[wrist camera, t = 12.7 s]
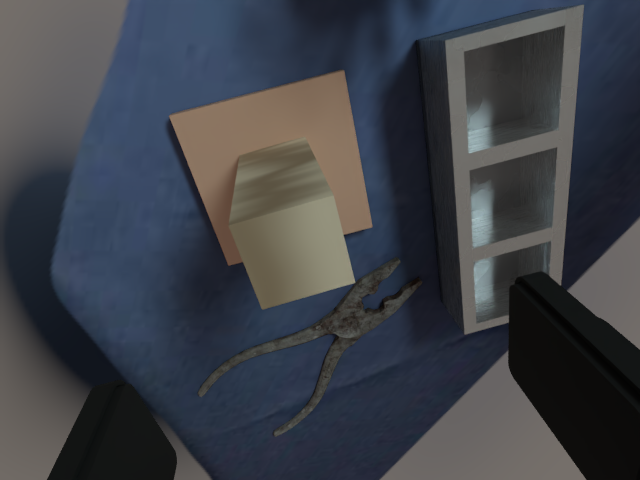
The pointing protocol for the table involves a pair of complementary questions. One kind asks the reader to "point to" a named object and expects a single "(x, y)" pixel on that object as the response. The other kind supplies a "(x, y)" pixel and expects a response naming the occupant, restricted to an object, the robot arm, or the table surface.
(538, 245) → the shelf
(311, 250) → the peg
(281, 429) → the pliers
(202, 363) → the table surface
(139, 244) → the table surface
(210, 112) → the tile
